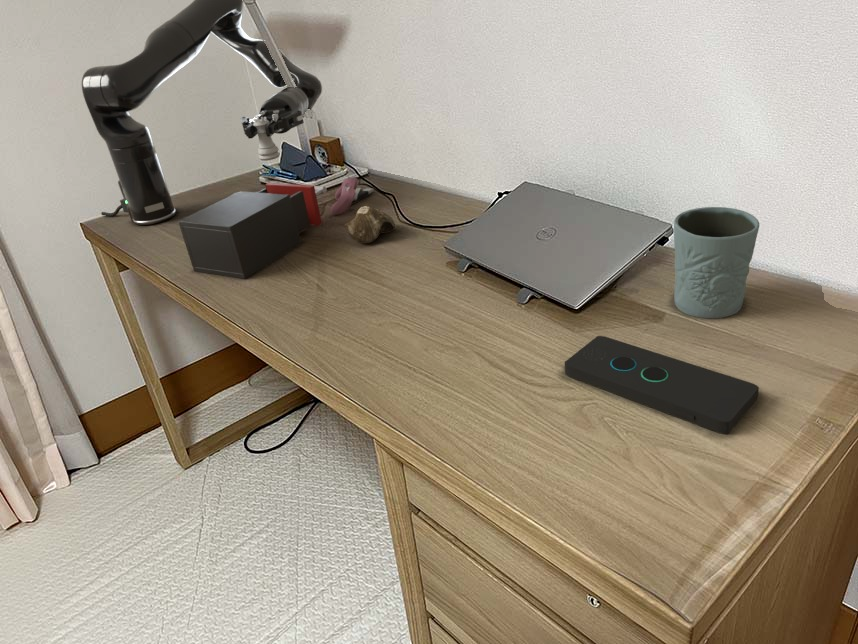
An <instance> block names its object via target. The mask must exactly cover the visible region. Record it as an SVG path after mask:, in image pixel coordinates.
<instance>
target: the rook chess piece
mask: <svg viewBox="0 0 858 644" xmlns="http://www.w3.org/2000/svg"><path fill="white" fill-rule="evenodd" d="M253 119H254V118H253ZM256 119H257V121H256ZM256 119H254V124H253V125H254V126H255V127H256V128H257V131H256V133H258V134H257V136H258V149H257V154H258V159H259V161H263V162H266V161H273V160H276V159H278V158H279V157H280V155H281V153H280V152H279V151H280V150H279V147H278V146H277V145H276V143H275V142H274V140H273V138H272V136H269V137H267V135H266V131H265V125H266V124H267V123H269V121H268V120H267V118H266V117H261V119H260V120H259V118H256Z"/></svg>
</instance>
